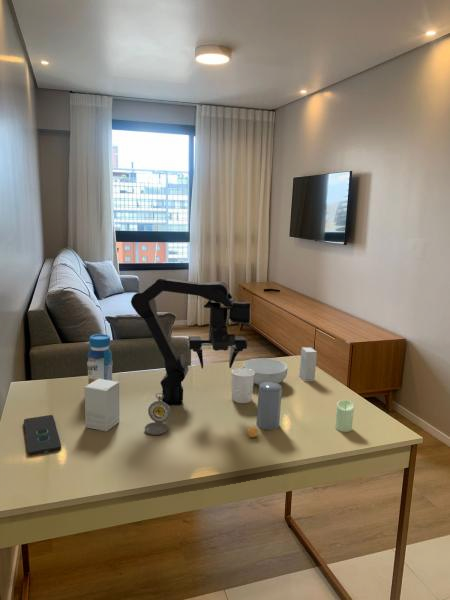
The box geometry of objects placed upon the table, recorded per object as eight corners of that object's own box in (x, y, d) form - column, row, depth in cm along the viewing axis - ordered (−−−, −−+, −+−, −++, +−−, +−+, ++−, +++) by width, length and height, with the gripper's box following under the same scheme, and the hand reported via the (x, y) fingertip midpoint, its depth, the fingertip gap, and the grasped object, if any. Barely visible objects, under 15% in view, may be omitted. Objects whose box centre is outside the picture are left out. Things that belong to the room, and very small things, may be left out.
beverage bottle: (116, 394, 155) (116, 338, 151) (92, 399, 150) (91, 341, 146) (107, 386, 162) (107, 332, 158) (84, 390, 157) (83, 334, 153)
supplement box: (120, 421, 136) (120, 381, 133) (106, 432, 129) (106, 390, 126) (99, 416, 138) (98, 377, 136) (84, 427, 131) (83, 386, 129)
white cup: (251, 405, 151) (252, 377, 149) (228, 402, 153) (229, 374, 151) (254, 396, 159) (256, 369, 157) (232, 393, 160) (233, 366, 158)
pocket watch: (148, 438, 127) (149, 404, 125) (139, 425, 134) (140, 393, 132) (176, 432, 131) (176, 400, 129) (166, 420, 138) (166, 389, 136)
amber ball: (248, 439, 128) (249, 429, 128) (246, 434, 131) (247, 424, 131) (259, 439, 129) (259, 429, 128) (256, 434, 132) (257, 424, 131)
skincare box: (314, 381, 176) (317, 351, 173) (304, 381, 175) (307, 352, 173) (308, 375, 182) (311, 347, 179) (298, 376, 181) (301, 347, 178)
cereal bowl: (244, 373, 182) (245, 356, 180) (286, 376, 179) (287, 359, 178) (240, 389, 165) (241, 370, 164) (286, 393, 163) (287, 374, 162)
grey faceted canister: (274, 431, 134) (277, 392, 131) (253, 426, 136) (256, 387, 134) (281, 422, 140) (284, 384, 137) (261, 418, 142) (263, 380, 140)
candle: (350, 433, 135) (353, 407, 133) (333, 430, 137) (336, 404, 135) (352, 426, 140) (355, 401, 138) (335, 423, 141) (338, 398, 140)
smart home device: (27, 451, 115) (23, 418, 132) (27, 458, 115) (23, 424, 132) (62, 445, 118) (53, 414, 136) (62, 451, 119) (53, 419, 136)
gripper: (191, 328, 135) (189, 377, 138) (252, 328, 138) (249, 376, 141) (188, 319, 146) (186, 365, 149) (244, 319, 149) (242, 364, 152)
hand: (216, 367), depth 148 cm, fingers open, 9 cm apart
